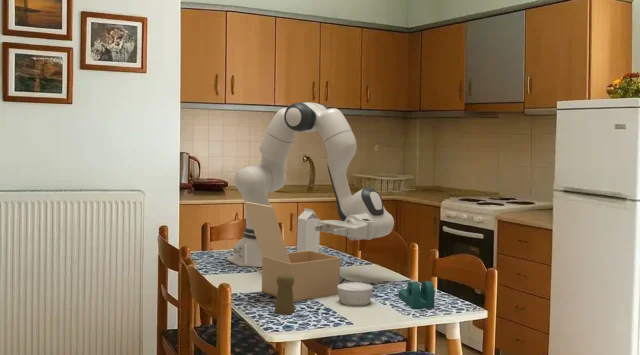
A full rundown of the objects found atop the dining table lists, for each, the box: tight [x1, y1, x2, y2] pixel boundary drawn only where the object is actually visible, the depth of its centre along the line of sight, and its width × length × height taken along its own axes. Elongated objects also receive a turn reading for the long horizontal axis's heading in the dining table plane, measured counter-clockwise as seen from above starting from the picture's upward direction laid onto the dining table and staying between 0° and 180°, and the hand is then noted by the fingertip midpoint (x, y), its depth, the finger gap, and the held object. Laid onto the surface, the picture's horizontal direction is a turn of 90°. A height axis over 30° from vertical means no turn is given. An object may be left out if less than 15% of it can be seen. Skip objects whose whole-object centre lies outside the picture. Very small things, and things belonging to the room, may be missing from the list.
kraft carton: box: [261, 251, 341, 303], centre depth 234 cm, size 16×20×12 cm
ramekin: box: [337, 281, 374, 307], centre depth 224 cm, size 11×11×5 cm
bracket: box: [398, 280, 436, 310], centre depth 227 cm, size 18×7×8 cm, turn 10°
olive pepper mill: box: [274, 274, 296, 315], centre depth 211 cm, size 6×6×11 cm
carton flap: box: [244, 202, 290, 263], centre depth 225 cm, size 15×19×1 cm
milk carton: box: [296, 207, 321, 253], centre depth 309 cm, size 7×7×19 cm
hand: (324, 230), depth 239 cm, fingers open, 8 cm apart
